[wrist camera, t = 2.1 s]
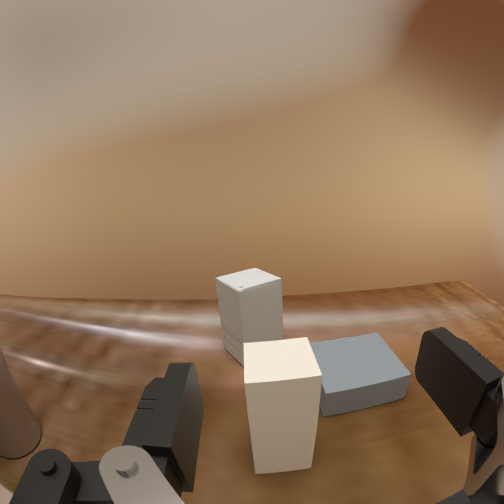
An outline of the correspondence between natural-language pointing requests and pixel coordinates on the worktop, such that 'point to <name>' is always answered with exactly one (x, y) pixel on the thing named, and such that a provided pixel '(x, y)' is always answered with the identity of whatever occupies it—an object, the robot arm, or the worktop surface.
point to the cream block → (282, 403)
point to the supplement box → (249, 309)
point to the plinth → (358, 373)
